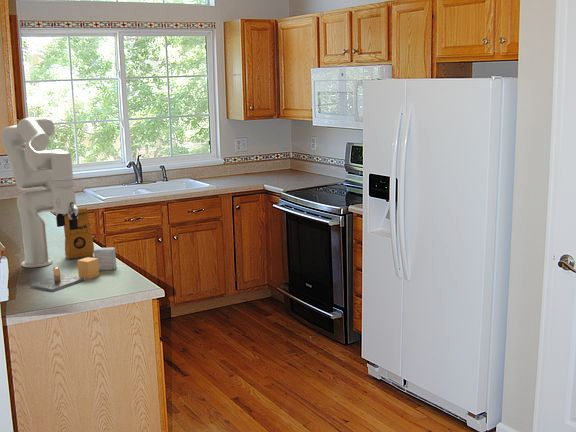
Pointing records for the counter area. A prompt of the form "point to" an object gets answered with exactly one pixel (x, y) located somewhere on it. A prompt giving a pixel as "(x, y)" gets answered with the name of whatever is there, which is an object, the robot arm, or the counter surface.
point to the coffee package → (79, 237)
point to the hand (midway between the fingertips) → (67, 227)
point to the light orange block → (88, 267)
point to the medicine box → (106, 258)
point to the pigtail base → (56, 285)
